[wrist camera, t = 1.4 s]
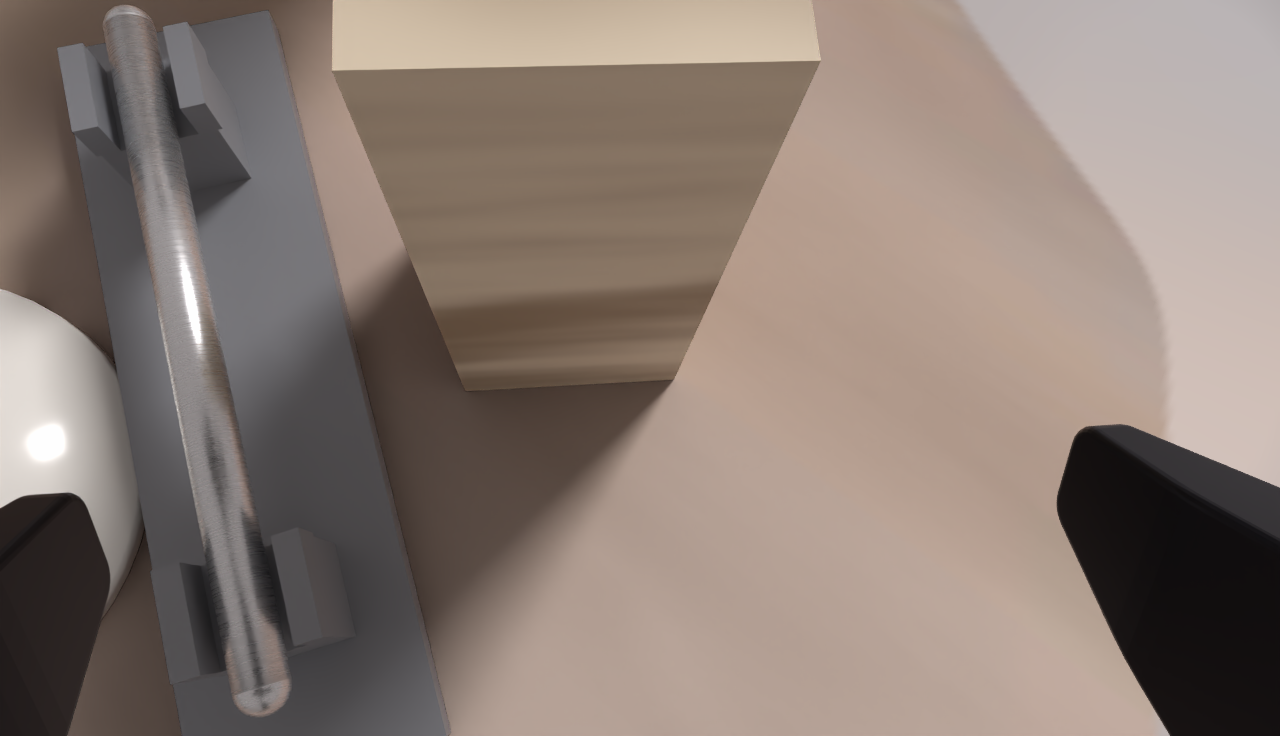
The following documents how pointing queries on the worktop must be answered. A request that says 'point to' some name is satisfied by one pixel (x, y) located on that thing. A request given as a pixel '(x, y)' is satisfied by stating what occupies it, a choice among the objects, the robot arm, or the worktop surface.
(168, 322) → the steel bar
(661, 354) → the beech block
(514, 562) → the worktop surface
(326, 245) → the bar stand
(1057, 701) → the worktop surface
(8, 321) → the coaster
